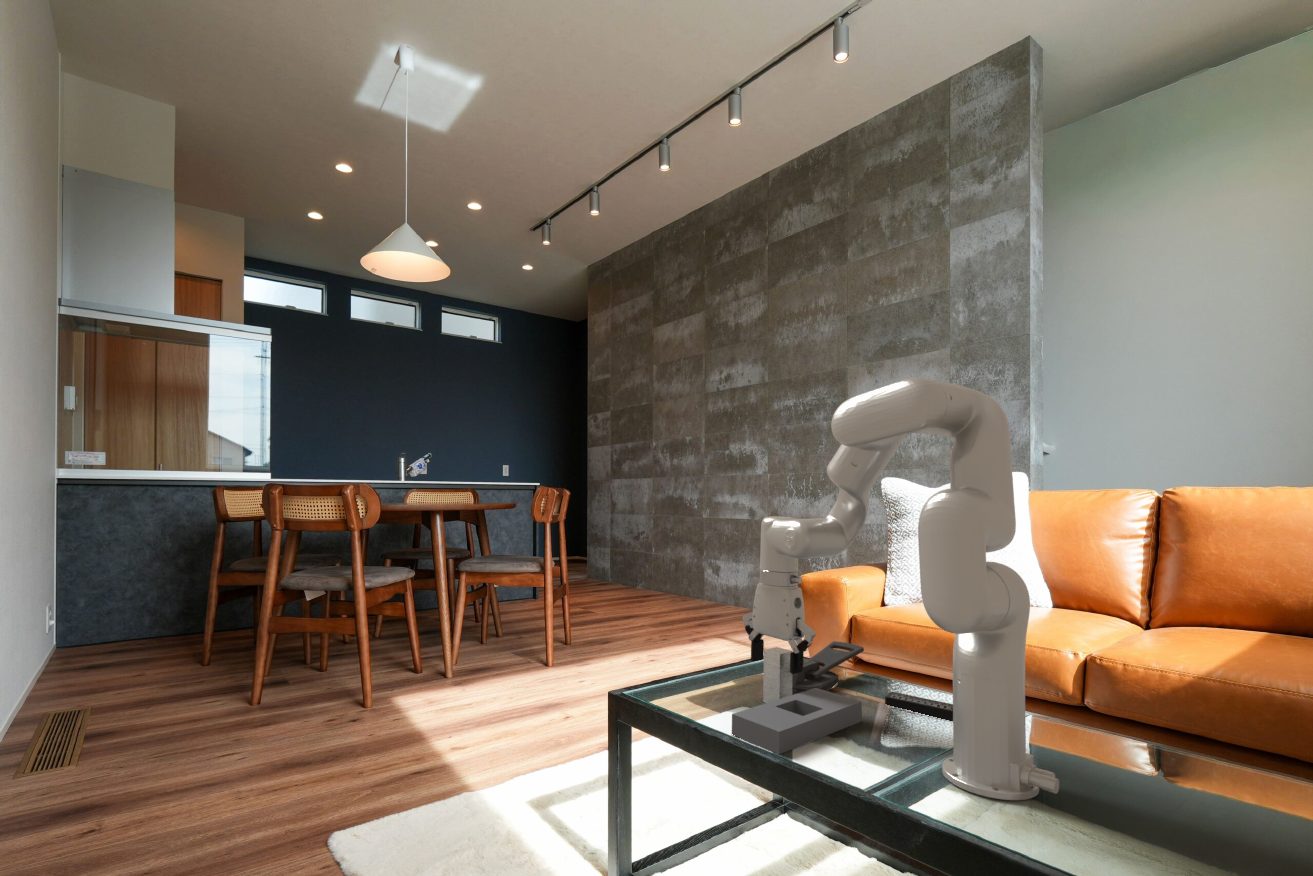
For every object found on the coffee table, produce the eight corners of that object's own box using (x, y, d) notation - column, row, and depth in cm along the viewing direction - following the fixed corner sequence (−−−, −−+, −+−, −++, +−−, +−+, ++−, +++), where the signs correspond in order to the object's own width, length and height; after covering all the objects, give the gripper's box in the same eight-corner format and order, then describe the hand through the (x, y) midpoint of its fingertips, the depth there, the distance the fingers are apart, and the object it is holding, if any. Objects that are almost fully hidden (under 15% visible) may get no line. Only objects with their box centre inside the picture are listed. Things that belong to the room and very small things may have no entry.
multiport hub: (891, 703, 130) (891, 691, 130) (969, 720, 122) (969, 707, 122) (884, 708, 127) (884, 696, 127) (964, 726, 118) (964, 713, 118)
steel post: (792, 703, 127) (792, 651, 128) (779, 707, 125) (780, 654, 126) (775, 697, 130) (776, 646, 131) (763, 701, 128) (763, 649, 129)
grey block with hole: (861, 721, 118) (861, 701, 118) (779, 754, 102) (779, 731, 103) (815, 706, 126) (815, 687, 126) (731, 735, 110) (732, 714, 110)
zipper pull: (868, 646, 148) (811, 666, 130) (867, 676, 148) (810, 700, 130) (832, 639, 154) (773, 657, 136) (832, 668, 154) (772, 690, 136)
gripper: (826, 584, 125) (824, 674, 124) (757, 571, 138) (754, 653, 137) (803, 587, 121) (800, 681, 120) (733, 574, 134) (730, 659, 133)
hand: (776, 666), depth 129 cm, fingers open, 9 cm apart
